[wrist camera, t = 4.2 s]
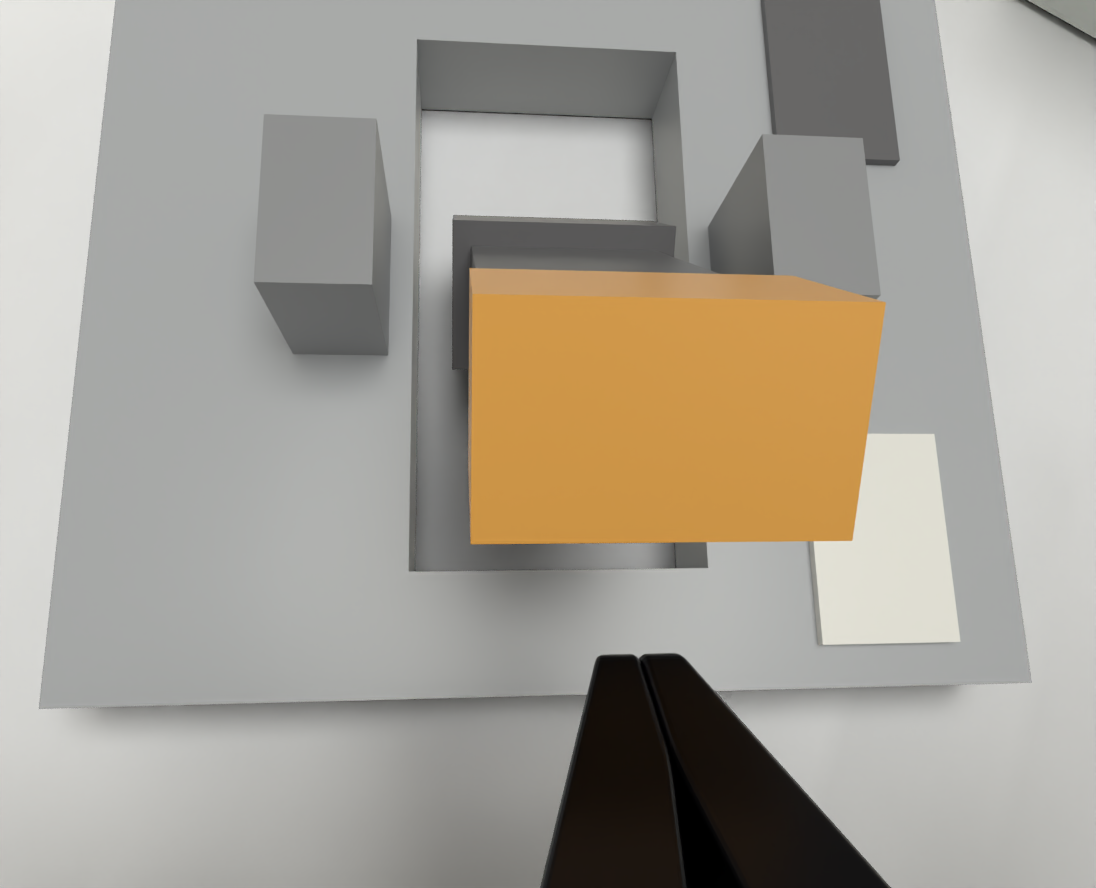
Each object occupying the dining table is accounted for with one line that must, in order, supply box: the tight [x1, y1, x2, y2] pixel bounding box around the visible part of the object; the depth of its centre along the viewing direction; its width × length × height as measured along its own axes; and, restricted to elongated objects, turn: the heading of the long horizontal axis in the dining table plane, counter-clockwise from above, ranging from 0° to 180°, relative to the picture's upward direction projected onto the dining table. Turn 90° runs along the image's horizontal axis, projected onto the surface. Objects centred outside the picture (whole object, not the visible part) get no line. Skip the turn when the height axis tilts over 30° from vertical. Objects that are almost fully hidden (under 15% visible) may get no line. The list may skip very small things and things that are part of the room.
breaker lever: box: [452, 215, 886, 544], centre depth 12 cm, size 2×4×10 cm
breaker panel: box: [39, 0, 1032, 709], centre depth 15 cm, size 14×16×5 cm
